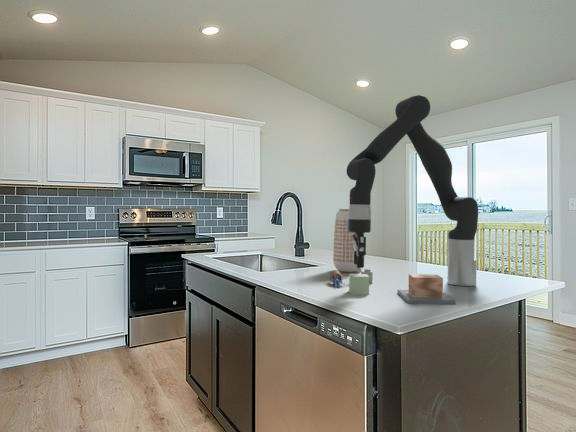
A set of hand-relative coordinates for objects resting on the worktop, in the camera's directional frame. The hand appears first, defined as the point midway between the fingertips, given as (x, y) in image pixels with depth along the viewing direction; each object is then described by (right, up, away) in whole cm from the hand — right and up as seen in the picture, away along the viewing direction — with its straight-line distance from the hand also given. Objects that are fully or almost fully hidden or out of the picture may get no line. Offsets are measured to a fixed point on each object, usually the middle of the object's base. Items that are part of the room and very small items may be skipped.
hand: (358, 265), depth 131 cm
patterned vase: (+3, -8, +44) cm, 45 cm away
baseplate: (+20, -9, -8) cm, 23 cm away
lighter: (+5, -9, +18) cm, 21 cm away
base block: (+20, -8, -8) cm, 23 cm away
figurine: (-6, -9, +13) cm, 17 cm away
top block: (0, -9, 0) cm, 9 cm away
